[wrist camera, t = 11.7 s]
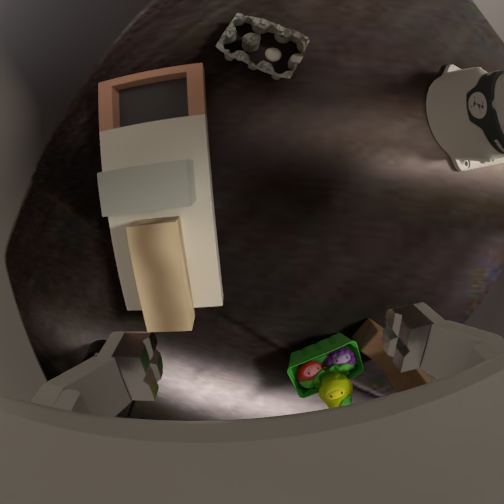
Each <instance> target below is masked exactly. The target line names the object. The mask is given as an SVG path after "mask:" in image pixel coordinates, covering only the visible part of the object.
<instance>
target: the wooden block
mask: <svg viewBox="0 0 504 504" xmlns="http://www.w3.org/2000/svg"><path fill="white" fill-rule="evenodd" d="M383 330H384V328H383V327H381V326H380V325H378V324H377V323H375V322H374V321H373V320H371V319H369V318H368V319H367V320H366V321H365V322H364V323H363V324H362V326H361V327H360V328H359V329H358V330H357V331H356V332H355V334H354V335H353V336H352V339H353V340H354V341H355V342H356V343H357V346H358V348H359V350H360V351H361V352H362V353H363V354H365V355H366V356H368V357H369V358H371V359H372V360H373V361H374V362H375V363H376V364H377V365H378V366H379V367H380V368H381V369H382V371H383V372H384V373H385V374H386V376H387V377H388V379H389V380H390V382H391V384H392V385H393V387H394V388H395V390H396V391H397V393H398V392H401V391H404V390H408V389H411V388H414V387H417V386H421V385H424V384H427V383H430V382H432V380H431V379H430V378H429V376H428V375H427V374H426V373H425V371H423V370H421V369H420V368H417V369H413V370H409V371H405V372H401V373H400V371H399V370H398V369H397V367H396V366H395V364H394V363H393V358H394V357H392V356H389V355H387V353H386V352H385V350H384V348H383V343H382V335H383Z"/></svg>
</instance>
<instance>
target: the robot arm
mask: <svg viewBox="0 0 504 504" xmlns="http://www.w3.org/2000/svg"><path fill="white" fill-rule="evenodd" d="M426 111H427V117H428V122H429V125H430V128H431V130H432V133H433V135H434V137H435V139H436V140H437V142H438V143H439V145H440V146H441V147H442V148H443V149H444V150H445V151H446V152H447V153H448V155H449V156H450V158H451V160H452V162H453V165H454V167H455V168H456V170H457V171H467V170H472V169H477V168H482V167H487V166H492V165H497V164H502V163H504V71H492V72H490V73H488V72H486V71H485V70H483V69H482V68H481V67H474V68H467V69H460V68H458V67H457V66H455V65H447V66H446V67H445V70H444V72H443V74H442V75H441V76H440V77H438V78H437V79H436V80H434V81H433V83H432V84H431V85H430V87H429V90H428V93H427V98H426ZM385 321H386V323H387V326H386V328H385V329H384V330H383V335H382V343H383V348H384V350H385V352H386V353H387V355H389V356H392V357H394V358H393V363H394V364H395V366H396V367H397V369H398V370H399V371H400V373H401V372H405V371H409V370H413V369H417V368H420V369H421V370H423V371H425V372H427V373H429V374H431V375H432V376H434V377H436V378H438V380H435V381H432V382H430V383H427V384H424V385H421V386H417V387H414V388H411V389H408V390H404V391H401V392H398V393H394V394H390V395H387V396H383V397H379V398H375V399H371V400H367V401H363V402H358V403H354V404H349V405H345V406H340V407H335V408H329V409H324V410H318V411H312V412H305V413H299V414H291V415H284V416H275V417H265V418H254V419H241V420H222V421H162V420H143V419H130V418H120V417H115V416H116V415H117V414H118V413H120V412H121V411H122V410H123V409H124V408H125V407H126V406H127V405H128V404H129V403H130V402H131V400H146V401H155V398H156V395H157V391H158V388H159V387H158V384H157V382H158V381H159V380H160V379H161V377H162V372H163V364H162V358H161V354H160V353H159V352H158V351H157V350H156V349H155V348H156V345H157V339H156V336H155V334H154V333H153V332H112V333H111V335H110V336H109V338H108V339H107V341H106V343H105V344H104V346H103V347H102V349H101V351H100V352H99V354H98V356H97V357H91V358H90V359H88V360H86V361H84V362H82V363H81V364H79V365H77V366H75V367H73V368H71V369H70V370H68V371H66V372H64V373H62V374H61V375H59V376H57V377H55V378H53V379H51V380H50V381H48V382H46V383H44V384H43V385H42V386H41V388H40V389H39V391H38V392H37V394H36V395H35V397H34V398H33V400H32V401H31V402H27V401H23V400H19V399H16V398H12V397H9V396H6V395H2V394H0V504H504V339H503V338H502V337H500V336H499V335H497V334H494V333H490V332H487V331H484V330H480V329H476V328H473V327H470V326H466V325H463V324H460V323H456V322H453V321H449V320H448V321H445V320H444V319H443V318H442V317H440V316H439V315H438V314H437V313H436V312H435V311H433V310H432V309H431V308H430V307H429V306H428V305H426V304H425V303H422V302H420V303H416V304H412V305H408V306H403V307H399V308H394V309H389V310H387V313H386V316H385Z"/></svg>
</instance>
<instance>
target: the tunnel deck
mask: <svg viewBox="0 0 504 504" xmlns="http://www.w3.org/2000/svg"><path fill="white" fill-rule="evenodd" d="M98 107H99V134H100V150H101V162H102V172H100V173H97V180H98V188H99V197H100V204H101V211H102V217H106V216H108V220H109V226H110V232H111V238H112V244H113V249H114V254H115V259H116V264H117V269H118V274H119V278H120V283H121V287H122V291H123V296H124V300H125V304H126V308H127V311H130V310H142V307H141V303H140V299H139V294H138V290H137V285H136V280H135V276H134V271H133V266H132V260H131V255H130V249H129V244H128V238H127V232H126V227H127V226H128V225H130V224H131V223H133V222H134V221H136V220H143V219H152V218H161V217H171V216H180V215H181V221H182V229H183V237H184V245H185V252H186V259H187V267H188V273H189V280H190V287H191V293H192V299H193V305H194V308H195V307H211V306H223V289H222V280H221V271H220V262H219V252H218V242H217V232H216V222H215V211H214V200H213V188H212V176H211V164H210V151H209V137H208V122H207V106H206V88H205V69H204V66H203V63H195V64H188V65H180V66H174V67H168V68H162V69H156V70H151V71H146V72H141V73H136V74H132V75H127V76H123V77H119V78H115V79H111V80H107V81H104V82H100V83H98Z"/></svg>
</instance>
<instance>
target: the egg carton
mask: <svg viewBox="0 0 504 504" xmlns="http://www.w3.org/2000/svg"><path fill="white" fill-rule="evenodd" d="M245 23H249V24H251V25H252V30H253V31H254V32H255V33H257V34H254V33H247V34H245V35H244V36H243V38H242V48H243V50H245V51H246V52H254V51H256V50H257V49H258V47H259V44H260V40H261V36H260V35H259V34H264V33H266V32H270V33H274V34H275V35H274V37H275V39H276V41H277V42H279V43H288V42H289V41H292V42H294V43H296V44H297V49H298V50H299V51H300V52H301V53H302V54H300V53H295V54H293V55H292V56H291V57H290V59H289V61H288V67H289V69H290V70H291V71H286V72H284V73H282V74H278V73H276V72H274V68H273V65H271V64H270V63H268V62H266V61H265V60H263V61H260V62H259V63H258V64H257V66H256V65H255V64H254V63H253V62H251V60H250V59H249V55H248V54H246V53H245V52H244V51H241V50H237V51H235V52H234V53H230V51H229V49H225V48H224V46H223V45H224V44H229V43H232V42H234V41H235V40H236V32H237V31H236V27H235V26H241V25H243V24H245ZM309 41H310V38H309V37H306V36H305V35H304V34H302V33H299V32H297V31H295V30H292V29H286V28H284V27H282V26H281V25H279V24H274V23H272V22H269V21H267V20H265V19H262V18H257V17H251V16H244V15H243V14H240V13H237V14H236V15H235V17H234V19H233V20H232V21H231V22H230V24H229V26H228V27H227V28H226V30H225V31H224V33H223V34H222V36H221V38H220V40H219V41H218V43H217V45H216V47H217V48H218V49H219V50H220V51H222V52H223V53H224V55H225V59H226V60H229V61H232V60H233V59H236V60H239V61H243V62H245V63H246V64H248V68H250V69H252V70H256V69H259V70H261V71H263V72H265V73H268V74H271V75H272V78H273V79H275V80H279V79H280V78H288V79H290V78H291V76H292V74H293V72H294V71H295V69H296V67H297V64H298V63H300V62H301V60H302V58H303V53H304V51H305V49H306V47H307V45H308V43H309ZM265 56H266V58H267V59H268V60H269V61H273V62H275V61H278V60H280V58H281V52H280V50H278V49H277V48H268V49H267V50H266V51H265ZM249 62H251V63H249Z"/></svg>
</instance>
